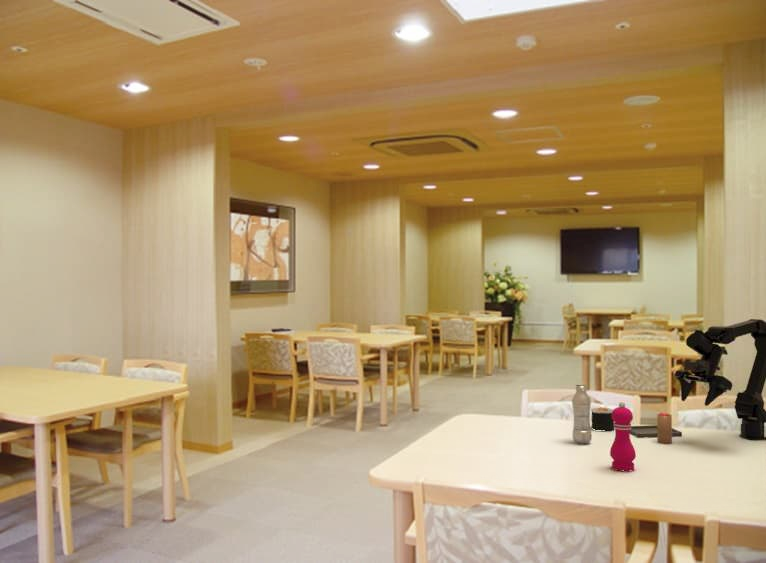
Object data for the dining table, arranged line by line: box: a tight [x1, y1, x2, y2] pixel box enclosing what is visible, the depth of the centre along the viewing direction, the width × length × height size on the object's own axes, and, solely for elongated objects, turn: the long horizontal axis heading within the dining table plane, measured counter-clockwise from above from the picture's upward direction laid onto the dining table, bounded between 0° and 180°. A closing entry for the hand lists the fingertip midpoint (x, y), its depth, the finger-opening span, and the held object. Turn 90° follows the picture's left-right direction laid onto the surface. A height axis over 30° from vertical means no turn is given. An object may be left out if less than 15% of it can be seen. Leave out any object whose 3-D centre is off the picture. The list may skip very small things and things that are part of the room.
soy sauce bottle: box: [656, 412, 673, 445], centre depth 226 cm, size 5×5×10 cm
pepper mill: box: [609, 401, 637, 472], centre depth 197 cm, size 7×7×20 cm
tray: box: [629, 424, 683, 439], centre depth 240 cm, size 16×12×1 cm
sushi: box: [590, 406, 615, 432], centre depth 247 cm, size 8×8×8 cm
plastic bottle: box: [571, 384, 593, 444], centre depth 228 cm, size 6×7×20 cm
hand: (694, 403), depth 219 cm, fingers open, 9 cm apart
